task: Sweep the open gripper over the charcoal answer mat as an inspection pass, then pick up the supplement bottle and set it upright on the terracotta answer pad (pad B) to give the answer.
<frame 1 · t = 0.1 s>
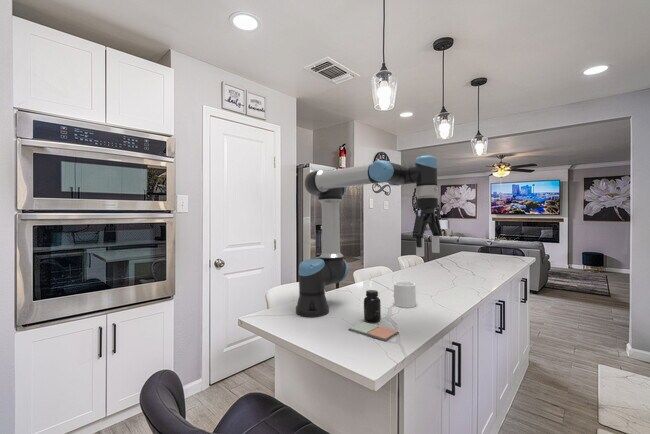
hand: (428, 254, 109), 28 cm above the worktop, fingers open, 13 cm apart
supplement bottle: (372, 320, 120), on the worktop
mug: (406, 304, 141), on the worktop
answer mat: (373, 331, 108), on the worktop
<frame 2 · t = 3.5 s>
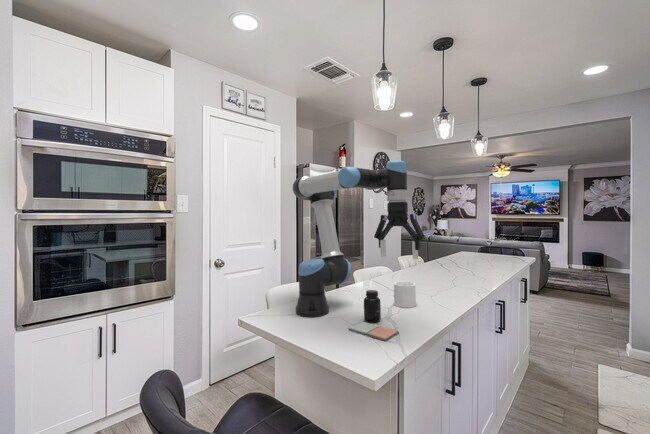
hand: (398, 257, 111), 27 cm above the worktop, fingers open, 13 cm apart
nothing on the worktop moved.
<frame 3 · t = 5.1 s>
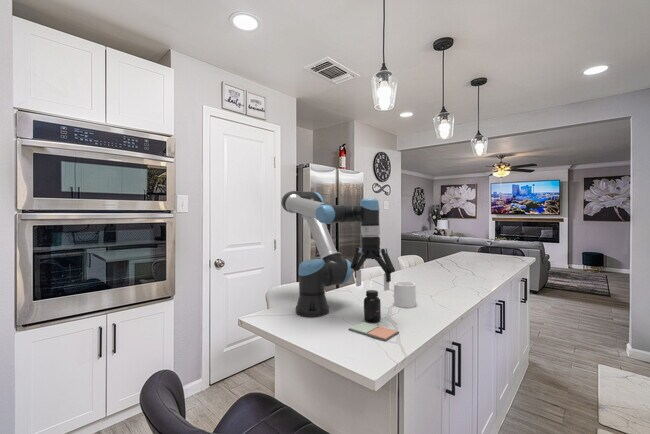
hand: (372, 288, 120), 13 cm above the worktop, fingers open, 13 cm apart
nothing on the worktop moved.
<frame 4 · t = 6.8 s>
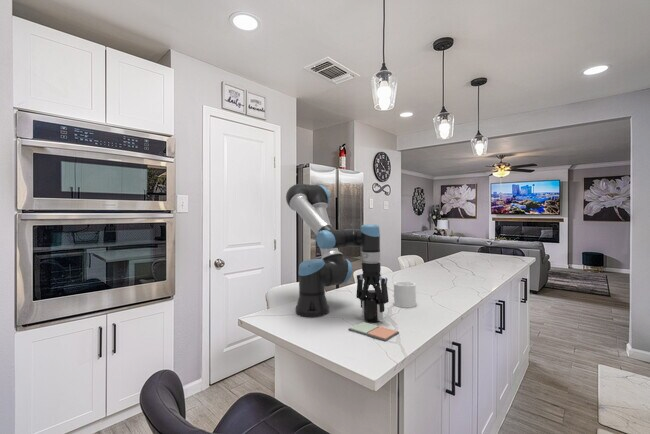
hand: (372, 317, 120), 1 cm above the worktop, fingers closed on supplement bottle, 7 cm apart
supplement bottle: (372, 320, 120), on the worktop, touching gripper
everything else where it was.
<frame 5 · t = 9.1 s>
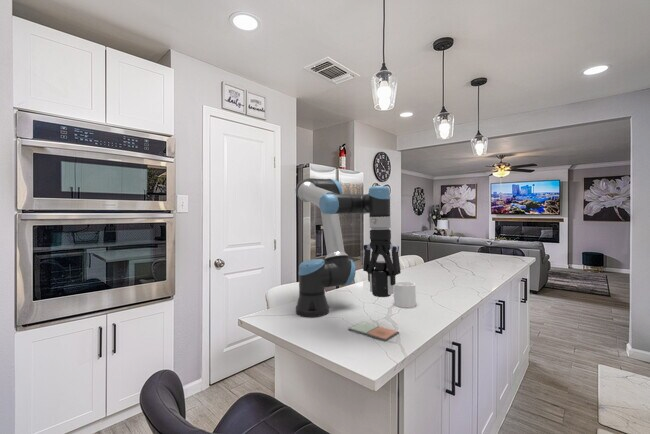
hand: (381, 292, 106), 15 cm above the worktop, fingers closed on supplement bottle, 7 cm apart
supplement bottle: (381, 295, 106), point 14 cm above the worktop, touching gripper
everything else where it was.
when the fingers open (3 cm above the worktop, at t = 11.6 s): supplement bottle drops 2 cm, resting on answer mat.
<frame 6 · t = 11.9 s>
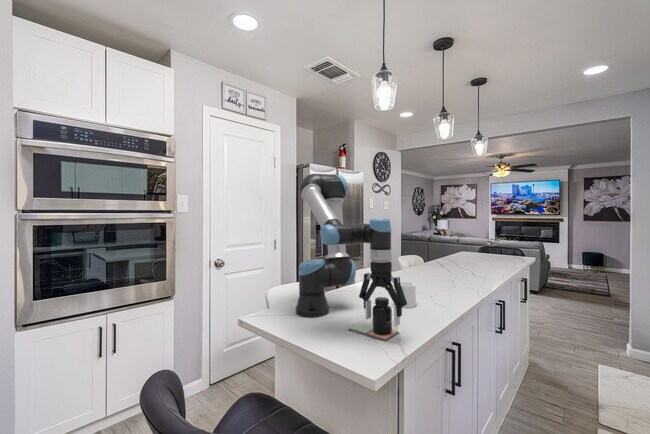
hand: (382, 321, 105), 5 cm above the worktop, fingers open, 11 cm apart
supplement bottle: (382, 332, 106), point 1 cm above the worktop, touching answer mat
everything else where it was.
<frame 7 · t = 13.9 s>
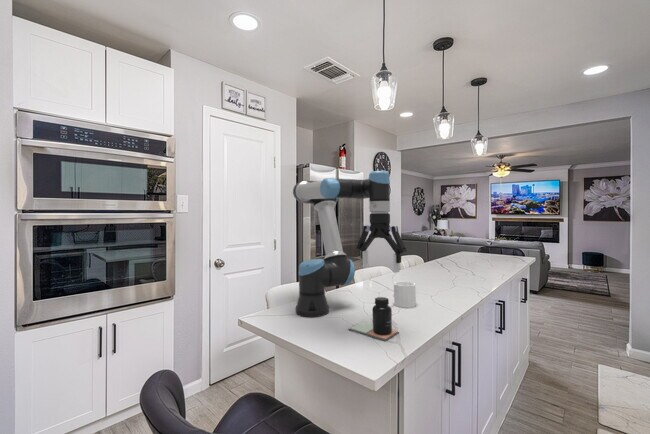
hand: (380, 269, 109), 23 cm above the worktop, fingers open, 13 cm apart
nothing on the worktop moved.
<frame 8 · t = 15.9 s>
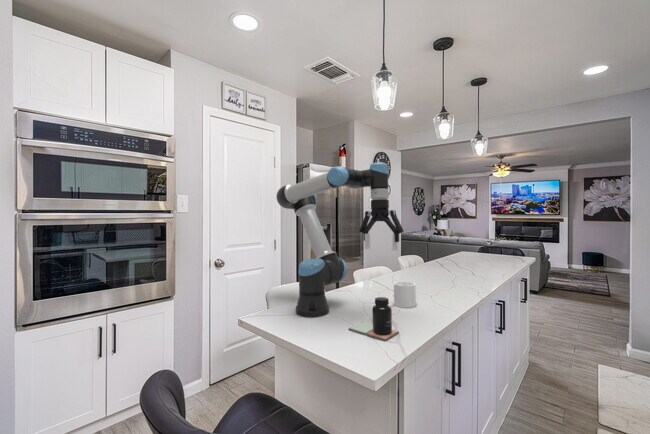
hand: (380, 249, 124), 29 cm above the worktop, fingers open, 13 cm apart
nothing on the worktop moved.
at the end: supplement bottle inside the target area (0.4 cm from its centre), point 0.6 cm above the worktop; supplement bottle tilted 0°; the gripper is holding nothing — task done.
